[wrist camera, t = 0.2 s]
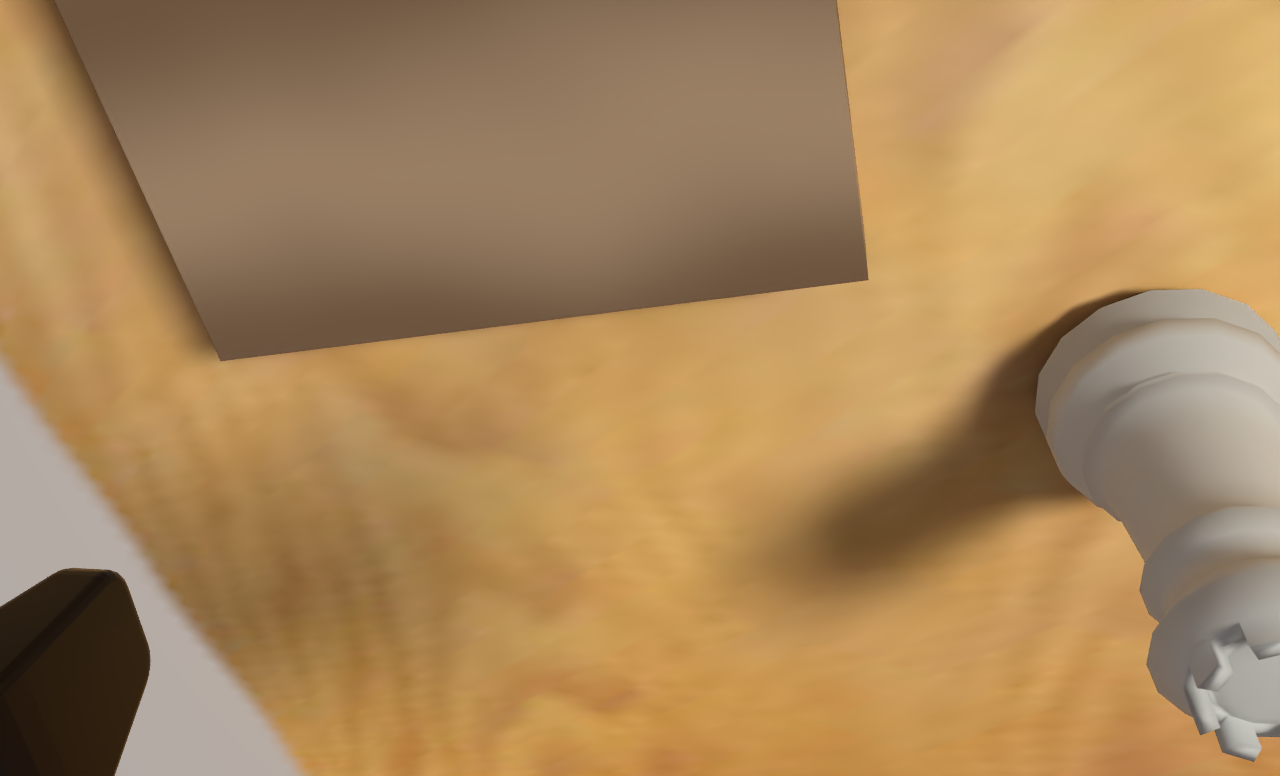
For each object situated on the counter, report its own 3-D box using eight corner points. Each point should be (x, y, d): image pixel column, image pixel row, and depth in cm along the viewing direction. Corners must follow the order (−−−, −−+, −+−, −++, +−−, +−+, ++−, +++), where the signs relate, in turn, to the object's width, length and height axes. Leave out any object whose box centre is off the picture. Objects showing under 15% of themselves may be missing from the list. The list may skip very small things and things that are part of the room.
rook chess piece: (1162, 504, 25) (1291, 845, 18) (982, 406, 24) (1049, 727, 18) (1333, 347, 23) (1553, 674, 16) (1140, 232, 22) (1288, 529, 15)
